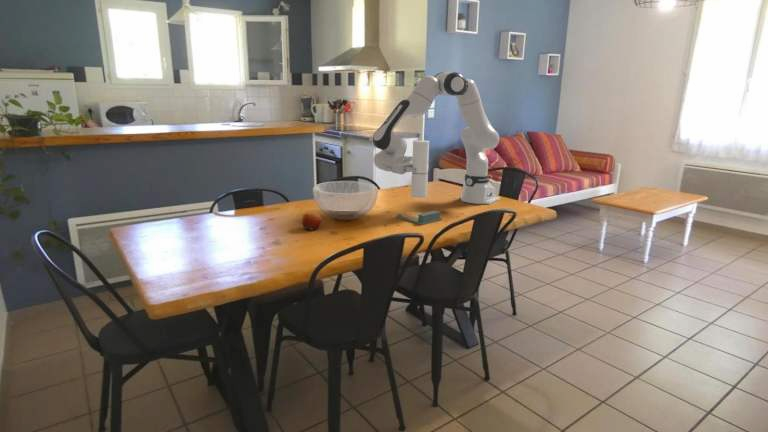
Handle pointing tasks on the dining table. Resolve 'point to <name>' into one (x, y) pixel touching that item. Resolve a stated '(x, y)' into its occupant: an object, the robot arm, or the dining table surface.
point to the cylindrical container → (420, 168)
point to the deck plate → (420, 217)
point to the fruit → (311, 221)
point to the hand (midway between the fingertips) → (421, 169)
